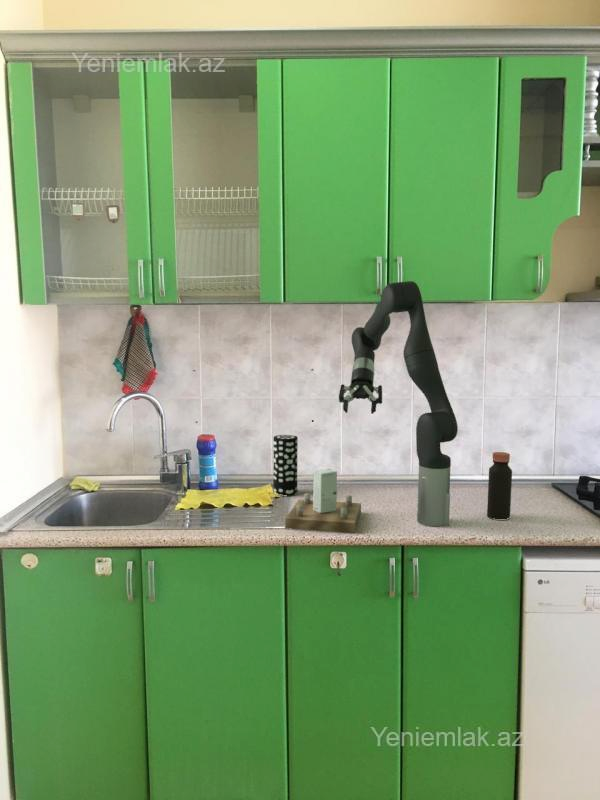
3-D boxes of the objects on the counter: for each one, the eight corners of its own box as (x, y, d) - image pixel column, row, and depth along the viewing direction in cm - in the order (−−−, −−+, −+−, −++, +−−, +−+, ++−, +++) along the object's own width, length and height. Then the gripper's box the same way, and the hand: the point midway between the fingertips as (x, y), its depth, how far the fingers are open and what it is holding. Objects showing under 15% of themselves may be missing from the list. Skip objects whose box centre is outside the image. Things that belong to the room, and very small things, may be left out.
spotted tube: (269, 495, 213) (269, 438, 210) (279, 489, 221) (279, 434, 218) (291, 497, 210) (292, 439, 207) (300, 491, 218) (301, 435, 215)
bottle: (488, 512, 194) (491, 450, 192) (511, 515, 191) (514, 452, 189) (485, 518, 188) (487, 454, 186) (508, 521, 185) (511, 456, 183)
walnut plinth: (360, 512, 193) (361, 493, 193) (354, 533, 174) (354, 512, 173) (298, 508, 197) (298, 490, 196) (285, 528, 178) (285, 508, 177)
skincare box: (320, 513, 182) (321, 473, 180) (312, 510, 185) (312, 470, 184) (337, 510, 185) (338, 471, 184) (328, 506, 189) (329, 468, 187)
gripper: (341, 366, 208) (336, 404, 198) (383, 367, 205) (380, 405, 195) (342, 380, 214) (338, 417, 204) (384, 381, 211) (381, 419, 201)
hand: (359, 411), depth 200 cm, fingers open, 8 cm apart
